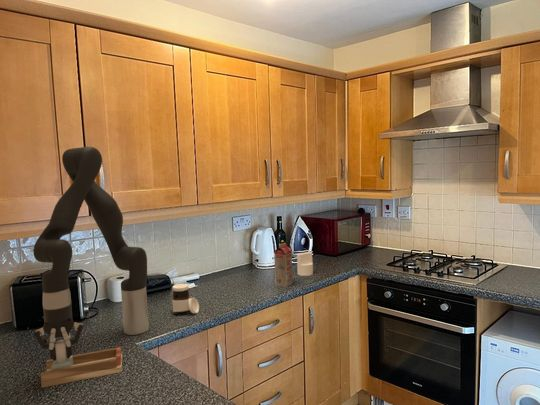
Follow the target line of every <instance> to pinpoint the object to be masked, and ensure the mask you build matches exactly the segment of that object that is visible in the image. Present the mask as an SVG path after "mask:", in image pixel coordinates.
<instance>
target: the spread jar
mask: <svg viewBox="0 0 540 405" xmlns="http://www.w3.org/2000/svg"><path fill="white" fill-rule="evenodd" d="M190 293H191V292H190V290H189V284H187V283H177V284H175V285H173V286H172V292H171V302H172V312H173V314H174V315H178V316H179V315H186V314H188V313H190V312H191V314H198V313H199V312H200V304H199V300H197V298H196V297H191V295H190Z"/></svg>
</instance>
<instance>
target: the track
mask: <svg viewBox="0 0 540 405" xmlns="http://www.w3.org/2000/svg"><path fill="white" fill-rule="evenodd" d="M72 355H73V354H72ZM45 364H46V365H45V366H46V370H44V371H41V372H40V378H41V380H40V381H41V382H40V383H41V388H47V387H53V386H58V385H63V384H68V383H73V382H77V381H83V380H88V379H93V378H99V377H102V376H103V377H104V376H108V375H115V374H118V373H122V372H123V353H122V350H121V346H119V347H113V348H106V349H103V350H97V351H91V352H85V353H79V354H74V355H73V366H71V367H66V368H60V369H55V370H51V366H52V364H53V359H51V358H50V359H46V361H45Z"/></svg>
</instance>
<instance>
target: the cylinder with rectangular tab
mask: <svg viewBox="0 0 540 405" xmlns="http://www.w3.org/2000/svg"><path fill="white" fill-rule="evenodd" d="M296 256H297V257H296V260H297V263H296V268H297V271H296V272H297V275H298V276H301V277H302V276H303V277H308V276H312V275H314V263H313V252H310V251H307V252H300V253H297V255H296Z"/></svg>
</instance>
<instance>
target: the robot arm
mask: <svg viewBox="0 0 540 405" xmlns="http://www.w3.org/2000/svg"><path fill="white" fill-rule="evenodd" d="M61 157H62V158H61V162H62V165H63V168H64V171H65V172H66V174H67V175H68V177H69V178H70V180H71V181H72V183H71V185H70V186H69V187H68V188H67V190H66V191H65V192H64V193H63V194H62V195H61V197H59V199H58V201H56V204H55V205H54V206H55V207H54V208H53V211H52V214H51V215H50V216H51V217H50V219H49V222H48V224H47V226H46V227H45V228H44V230H43V231H42V232H41V233H40V235H39V236H38V238H37V239H36V241H35V243H34V245H33V249H32V250H33V257H34V259H35V260H36V261H37V262H39V263H48V264H49V263H50V264H51V263H52V267H51V269H49V270H46V271H44V272H43V273H42V275H41V286H42V310H43V321H44V322H43V323H44V324H43V326H42V327H40V328H37V329H36V330H35V331H34V332H33V336H34V337H35V339H36V340H37V342H38V344H39V345H40V346H41V348H42V349H43V350H45V349H47V350H49V358H50V359H53V361H56V353H55V342H56V339H57V338H63V340H65V342H66V345H67V347H66V351H67V358H70V356H72V355H73V353H74V352H73V345H74V344H77V343H78V341H79V339H80V335H81V332H82V330H83V327H84V322H76V321H75V320H74V318H73V310H72V309H73V308H72V299H71V298H72V297H71V291H70V283H69V272H70V271H69V270H70V267H71V261H72V258H73V248H72V245H71V243H70V242H69V241H68V240H66V239H63V237H65V236H67V235H69V234H71V233H72V232H73V231H74V229H75V226H76V223H77V219H78V216H79V213H80V210H81V208H82V206H83V203H84V202H85V203H86V206H87V207H88V209H89V212H90V214H91V216H92V217H93V219H94V221H95V222H94V223H96V225H97V226H98V228H99V230H100V232H101V235H102V236H103V239H104V241H105V243H106V244H107V247H108V250H109V252H110V255H111V258H112V261H113V263H114V264H115V266H116V268H118V269H119V270H121V271H126V272H127V271H128V272H129V273H128V278H126V279H123V280H122V281H121V282H120V293H121V294H120V295H121V308H122V323H123V333H124V335H128V336H129V335H130V336H133V335H134V336H136V335H141V334H143V333H145V332H147V331H148V330H149V329H150V327H149V312H148V297H147V279H148V257H147V253H146V252H147V251H146V250H145V249H144V248H142V247H139V246H129V245H128V244H127V243H126V241H125V238H124V237H123V232H122V231H123V224H124V217H123V213H122V211H121V209H120V207H119V205H118V203H117V201H116V199H114V198H113V196H111V194H109V193H108V192H107V191H106V190H104V188H102V187H101V186H100V185H99V184H98V183H97V182H96V181H95V180H96V178H97V177H98V175H99V173H100V170H101V168H102V165H103V157H102V153H101V152H100V150H98V149H97V148H96V147H93V146H82V147H74V148H68V149H66V150H64V152H63V153H62V156H61ZM73 328H74V330H75V331H76V332H75V335H74V337H73V338H72V337H71V333H70V332H71V330H72V329H73ZM45 333H46V334H47V335H49V336H50V337H49V342H48V340H47V338H46V337H45V335H44V334H45Z"/></svg>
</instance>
